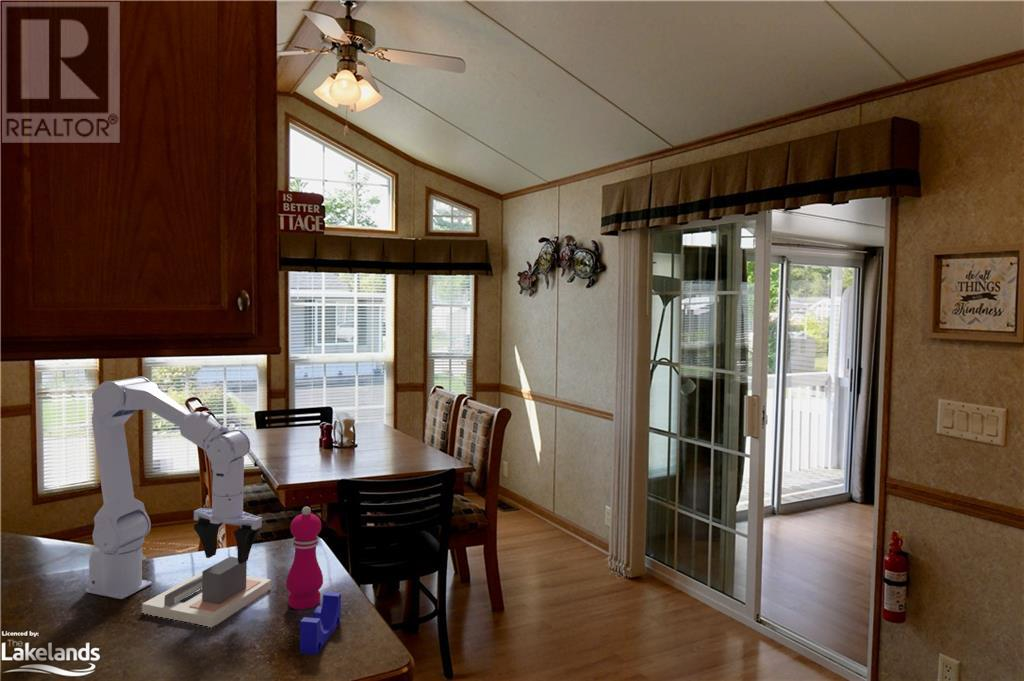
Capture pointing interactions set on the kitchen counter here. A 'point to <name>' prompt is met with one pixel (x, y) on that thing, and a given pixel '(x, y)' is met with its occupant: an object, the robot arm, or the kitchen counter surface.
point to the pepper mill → (305, 562)
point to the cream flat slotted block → (200, 610)
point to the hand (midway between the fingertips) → (226, 559)
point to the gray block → (223, 580)
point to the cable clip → (320, 624)
